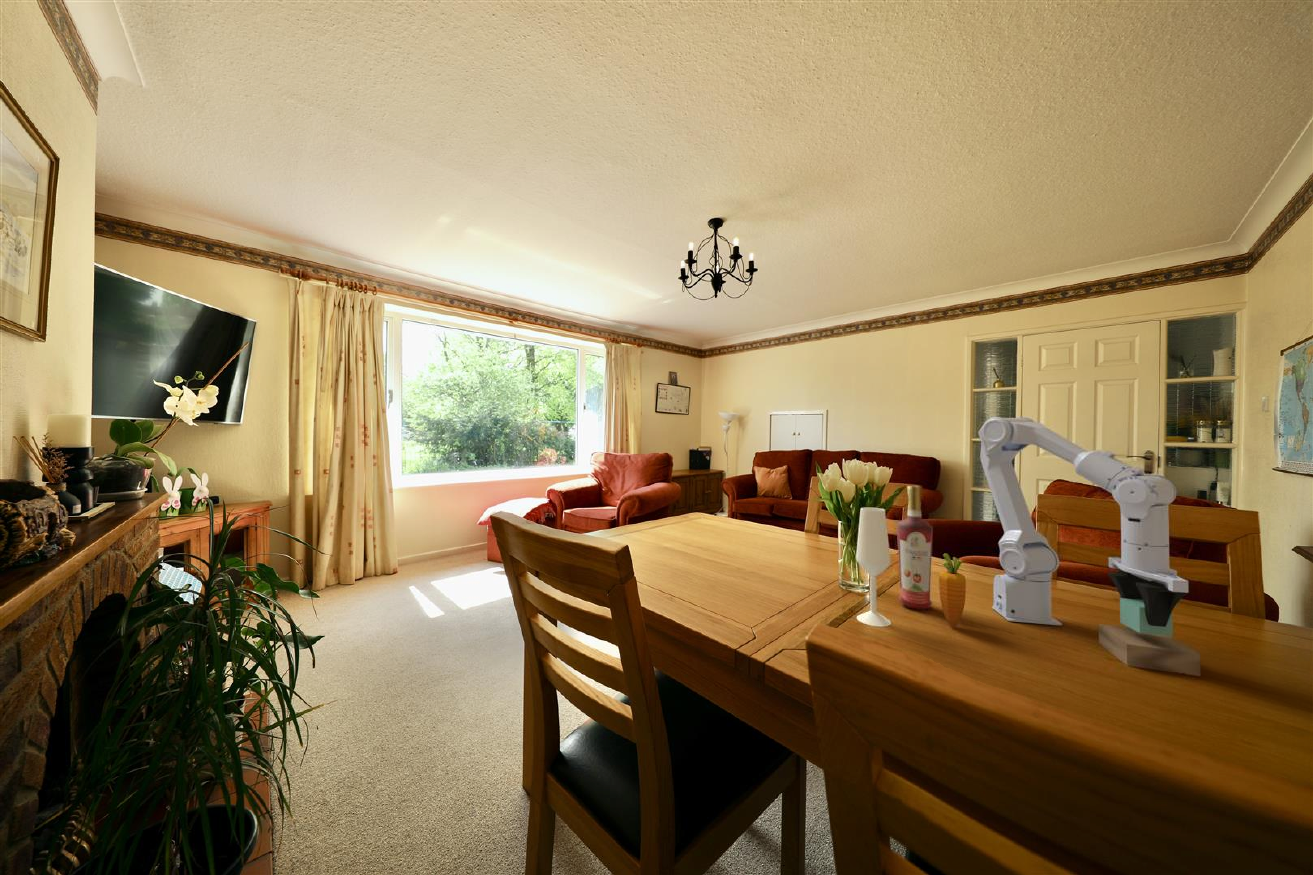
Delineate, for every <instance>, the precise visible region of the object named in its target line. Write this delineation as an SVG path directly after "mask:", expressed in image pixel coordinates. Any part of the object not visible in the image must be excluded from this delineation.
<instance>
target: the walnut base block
mask: <svg viewBox="0 0 1313 875" xmlns="http://www.w3.org/2000/svg"><path fill="white" fill-rule="evenodd" d="M1098 644H1100V646H1102V647H1103V648H1104V649H1106V650H1107V651H1108V652H1109V653H1110V654H1112V655H1113V656H1114V657H1116V658H1117V659H1118V660H1119V661H1121V662H1122V663H1123V664H1124V665H1126V666H1128V667H1133V668H1134V667H1135V668H1141V669H1148V670H1156V671H1163V672H1170V673H1175V672H1179V673H1178V674H1182V673H1185V674H1184V675H1188V676H1189V675H1190V676H1197V677H1201V653H1200V652H1198V651H1196V650H1195V649H1193V648H1191V647H1189V646H1188V645H1186V644H1184V643H1183V642H1181V641H1180V640H1178V639H1177V638H1175V637H1173V636H1168V635H1157V634H1145V633H1139V632H1137V631H1135V630H1133V629H1131V628H1129V627H1128V626H1121V625H1112V624H1111V625H1110V624H1105V623H1104V624H1103V623H1102V624H1101V623H1098Z"/></svg>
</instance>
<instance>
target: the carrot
mask: <svg viewBox="0 0 1313 875" xmlns="http://www.w3.org/2000/svg"><path fill="white" fill-rule="evenodd" d="M942 556H943V558H944V559H945V562H942V563H941V564H942V565H943V566H944V568H946V570H943V571H941V572H940V573H939V576H938V586H939V587H938V589H939V599H940V605H941V609H942V612H943V615H944V617H945V619H946V621H947V623H948V625H949V626H950V627H951V628H953V629H954V628H955V627H957V626H958V624H959V622H960V620H961V619H962V616H963V614H964V609H965V604H966V592H967V585H966V584H967V581H966V576H965V575H964V574H962V573H960V572H958V570H959V568H960V566H961V565H962V564H963V560H961V559H959V560H958V558H957V557H955V556H954V557H952V559H951V557H950V555H949V554H948V553H944V554H943V555H942ZM952 561H953V562H952Z"/></svg>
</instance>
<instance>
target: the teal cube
mask: <svg viewBox="0 0 1313 875" xmlns="http://www.w3.org/2000/svg"><path fill="white" fill-rule="evenodd" d="M1119 620H1120V623H1121V624H1122V625H1124V626H1125V627H1129V628H1131V629H1133V630H1135V631H1137V632H1139V633H1145V634H1157V635H1168V636H1172V637H1173V634H1174V633H1173V631H1174V630H1173V626H1174V625H1173V612H1172V613H1171V615H1170V618H1169V620H1168V623H1167V625H1166V627H1161V626H1151V625H1149V624H1148V622H1147V619H1146V614H1145V606H1144V602H1143V600H1140V599H1126V598H1121V597H1120V598H1119Z"/></svg>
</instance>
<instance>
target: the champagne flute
mask: <svg viewBox="0 0 1313 875" xmlns="http://www.w3.org/2000/svg"><path fill="white" fill-rule="evenodd" d="M859 511H860V512H859V521H858V522H859V523H858V532H857V542H856V544H857V545H856V552H855V553H856V556H855V560H856V562H857V564H858V565H859V566H860V567H861V569H863V571H864V572H865V573H867V574H868V575H869V576H870V577H869V578H870V580H869V581H870V582H869V583H870V584H869V586H870V587H869V588H870V590H869V591H870V592H869V594H870V595H869V596H870V598H869V599H870V600H869V601H870V610H869V611H867V612H863V613H861V614H859V615H857V616H856V619H857V621H859V622H860V623H862V624H864V625H868V626H872V627H882V628H883V627H888V626H890V625H891V624H892V622H891V620H890V619H888V618H886V616H884V615H883V614H881V613H879V612H878V611H877V576H879V575H881V574H882V573H883V572H884V571H886V570H887V569H888V568H889V567H890V565H891V553H890V552H891V551H890V543H889V536H888V527H887V517H886V509H884V508H879V507H869V506H868V507H861V508H860V510H859Z"/></svg>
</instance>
